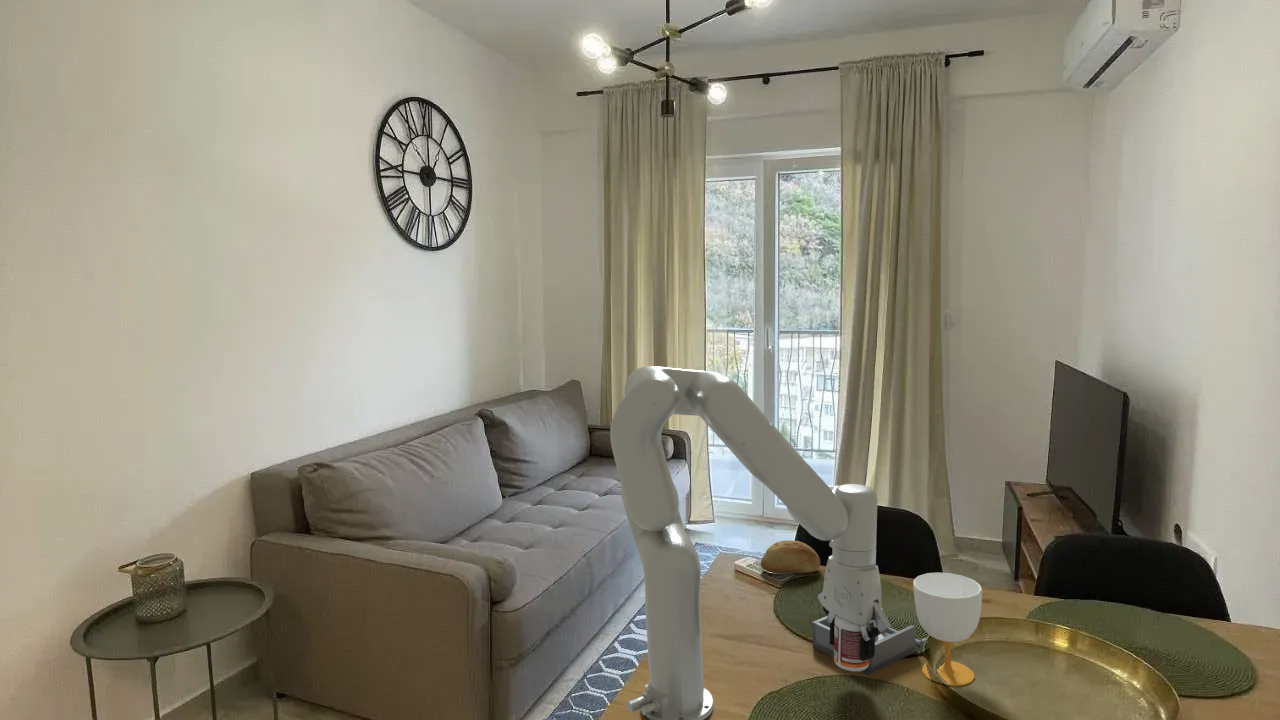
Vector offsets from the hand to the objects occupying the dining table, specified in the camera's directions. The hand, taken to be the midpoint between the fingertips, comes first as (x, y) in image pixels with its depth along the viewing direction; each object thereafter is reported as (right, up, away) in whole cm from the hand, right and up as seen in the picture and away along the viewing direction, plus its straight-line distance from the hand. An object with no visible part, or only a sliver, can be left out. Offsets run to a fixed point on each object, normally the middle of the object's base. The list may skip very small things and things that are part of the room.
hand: (851, 649), depth 134 cm
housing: (+8, -5, +14) cm, 17 cm away
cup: (+19, -6, +3) cm, 20 cm away
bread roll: (0, -2, +54) cm, 54 cm away
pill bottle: (0, -3, 0) cm, 3 cm away
